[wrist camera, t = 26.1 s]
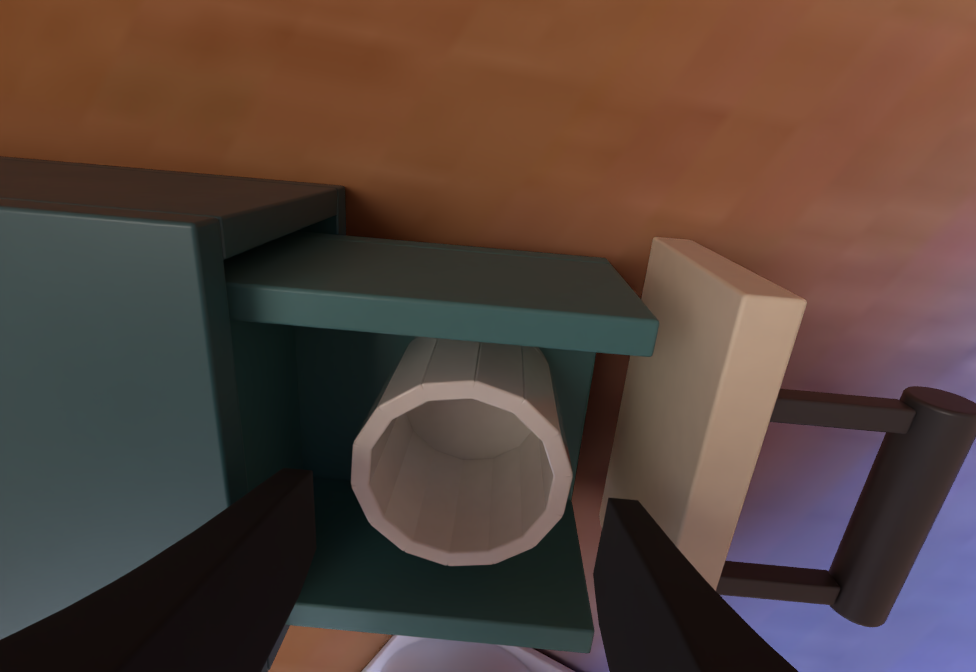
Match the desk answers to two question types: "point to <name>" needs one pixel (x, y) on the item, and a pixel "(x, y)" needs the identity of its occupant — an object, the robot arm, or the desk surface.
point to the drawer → (565, 423)
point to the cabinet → (121, 365)
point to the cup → (464, 452)
